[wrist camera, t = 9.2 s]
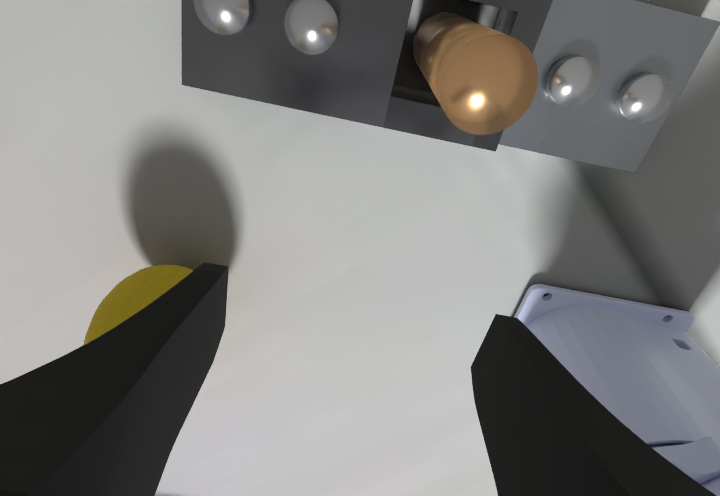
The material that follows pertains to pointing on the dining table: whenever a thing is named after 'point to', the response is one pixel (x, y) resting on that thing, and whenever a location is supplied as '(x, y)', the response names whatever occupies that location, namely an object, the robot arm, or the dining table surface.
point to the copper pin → (475, 72)
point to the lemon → (133, 296)
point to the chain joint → (421, 109)
